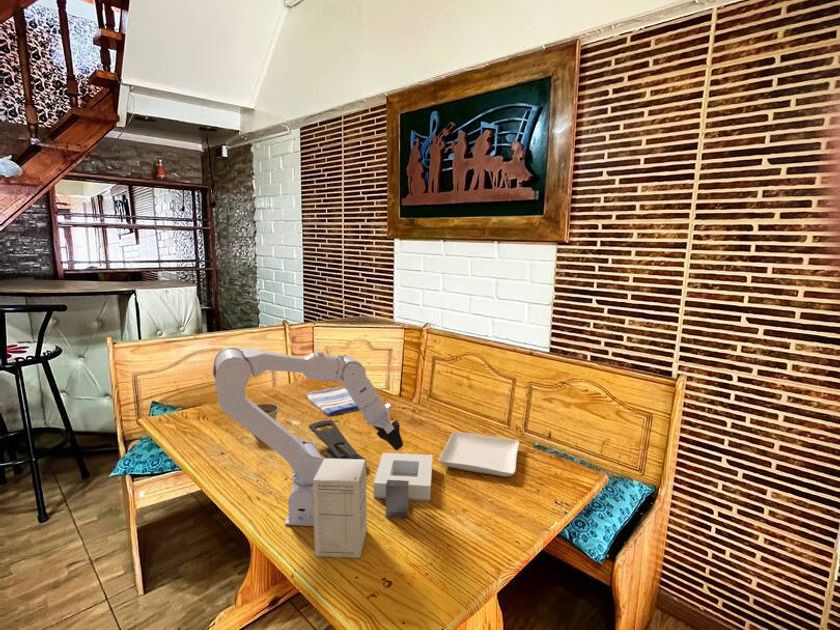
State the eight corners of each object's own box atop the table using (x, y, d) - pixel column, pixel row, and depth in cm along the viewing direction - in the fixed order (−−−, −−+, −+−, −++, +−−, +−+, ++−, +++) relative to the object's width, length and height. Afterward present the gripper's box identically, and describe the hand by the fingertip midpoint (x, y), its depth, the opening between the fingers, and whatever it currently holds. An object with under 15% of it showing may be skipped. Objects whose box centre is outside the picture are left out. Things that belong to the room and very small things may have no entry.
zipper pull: (332, 418, 143) (371, 448, 123) (333, 437, 144) (371, 470, 124) (305, 424, 138) (341, 456, 118) (306, 444, 139) (341, 480, 119)
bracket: (407, 518, 103) (407, 486, 102) (385, 517, 103) (385, 485, 102) (409, 503, 109) (410, 473, 108) (388, 502, 109) (389, 472, 108)
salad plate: (519, 449, 139) (519, 439, 139) (514, 484, 119) (515, 472, 119) (452, 440, 145) (452, 430, 144) (436, 471, 125) (437, 460, 124)
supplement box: (367, 529, 99) (368, 458, 96) (360, 559, 90) (360, 481, 87) (324, 527, 99) (323, 456, 96) (313, 557, 90) (311, 479, 87)
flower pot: (280, 437, 143) (280, 412, 142) (249, 442, 140) (248, 415, 138) (278, 426, 152) (277, 402, 150) (248, 430, 148) (247, 405, 147)
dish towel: (344, 391, 190) (344, 384, 189) (370, 408, 170) (370, 401, 170) (304, 398, 180) (304, 391, 180) (327, 418, 161) (326, 410, 160)
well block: (430, 501, 110) (430, 486, 109) (373, 498, 111) (373, 483, 110) (432, 468, 126) (432, 455, 125) (382, 466, 127) (382, 452, 126)
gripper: (392, 400, 102) (418, 443, 107) (371, 381, 115) (395, 420, 120) (367, 419, 100) (394, 462, 105) (348, 397, 113) (373, 436, 118)
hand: (393, 440), depth 112 cm, fingers open, 7 cm apart
